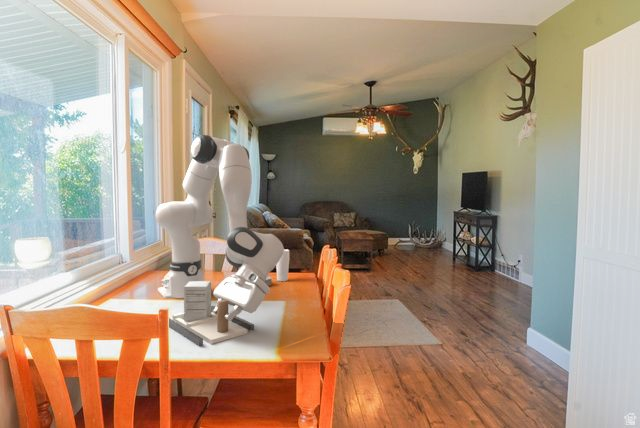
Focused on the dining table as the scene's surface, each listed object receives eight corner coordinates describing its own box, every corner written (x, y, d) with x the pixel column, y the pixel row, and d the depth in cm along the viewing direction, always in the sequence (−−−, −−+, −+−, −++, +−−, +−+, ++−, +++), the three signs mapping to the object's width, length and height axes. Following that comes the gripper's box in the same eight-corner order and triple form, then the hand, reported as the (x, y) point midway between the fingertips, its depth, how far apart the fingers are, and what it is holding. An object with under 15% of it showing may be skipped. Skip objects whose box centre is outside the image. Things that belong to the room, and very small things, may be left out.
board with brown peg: (172, 320, 123) (172, 290, 122) (206, 312, 131) (206, 284, 131) (211, 344, 104) (210, 308, 104) (247, 333, 113) (247, 300, 112)
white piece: (287, 282, 178) (287, 251, 177) (273, 281, 179) (273, 250, 178) (290, 279, 185) (291, 249, 184) (277, 278, 186) (278, 248, 185)
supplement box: (189, 317, 126) (189, 280, 126) (211, 317, 127) (211, 280, 126) (183, 325, 119) (183, 286, 118) (207, 324, 120) (206, 286, 119)
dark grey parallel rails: (162, 322, 122) (162, 316, 121) (212, 310, 134) (212, 305, 134) (199, 346, 103) (199, 339, 103) (254, 330, 116) (254, 324, 116)
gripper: (225, 268, 123) (197, 303, 116) (261, 278, 108) (232, 319, 102) (237, 279, 126) (210, 313, 120) (273, 291, 112) (246, 331, 105)
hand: (220, 316), depth 111 cm, fingers open, 6 cm apart
